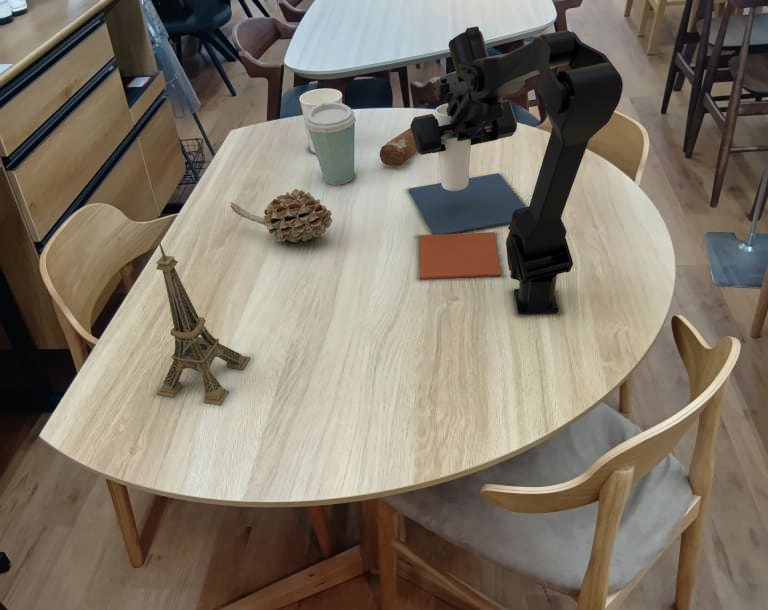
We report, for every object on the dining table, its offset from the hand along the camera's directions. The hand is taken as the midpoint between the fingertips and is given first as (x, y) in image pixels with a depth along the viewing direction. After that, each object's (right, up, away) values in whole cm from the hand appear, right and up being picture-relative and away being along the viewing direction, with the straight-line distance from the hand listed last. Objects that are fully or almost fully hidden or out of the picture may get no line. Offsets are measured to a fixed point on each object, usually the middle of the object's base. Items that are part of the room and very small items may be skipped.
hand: (451, 146), depth 127 cm
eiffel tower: (-40, -44, -25) cm, 65 cm away
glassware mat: (+4, -9, +8) cm, 13 cm away
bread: (-8, +8, +28) cm, 30 cm away
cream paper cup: (-27, +11, +33) cm, 44 cm away
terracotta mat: (+1, -22, -6) cm, 23 cm away
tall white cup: (+1, -7, +4) cm, 8 cm away
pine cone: (-33, -17, +4) cm, 37 cm away
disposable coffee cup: (-23, 0, +20) cm, 31 cm away
